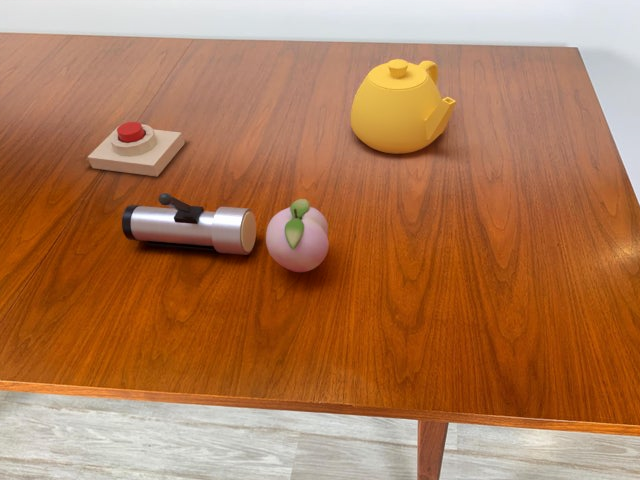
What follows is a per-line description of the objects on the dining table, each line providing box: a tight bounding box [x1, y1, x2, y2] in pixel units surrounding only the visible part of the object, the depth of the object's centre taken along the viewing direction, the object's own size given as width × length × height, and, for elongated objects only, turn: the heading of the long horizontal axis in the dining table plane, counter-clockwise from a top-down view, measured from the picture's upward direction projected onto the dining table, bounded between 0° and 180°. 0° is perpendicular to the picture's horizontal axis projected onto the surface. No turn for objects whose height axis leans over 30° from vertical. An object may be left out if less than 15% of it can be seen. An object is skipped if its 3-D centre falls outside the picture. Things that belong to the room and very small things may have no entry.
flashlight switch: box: [158, 192, 192, 213], centre depth 75 cm, size 2×2×7 cm
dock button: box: [116, 121, 145, 143], centre depth 96 cm, size 4×4×2 cm
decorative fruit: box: [265, 198, 330, 273], centre depth 77 cm, size 9×8×10 cm
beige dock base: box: [87, 123, 186, 177], centre depth 98 cm, size 12×10×4 cm
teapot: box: [350, 58, 457, 155], centre depth 98 cm, size 20×19×13 cm
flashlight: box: [121, 204, 257, 256], centre depth 81 cm, size 17×6×6 cm, turn 82°
